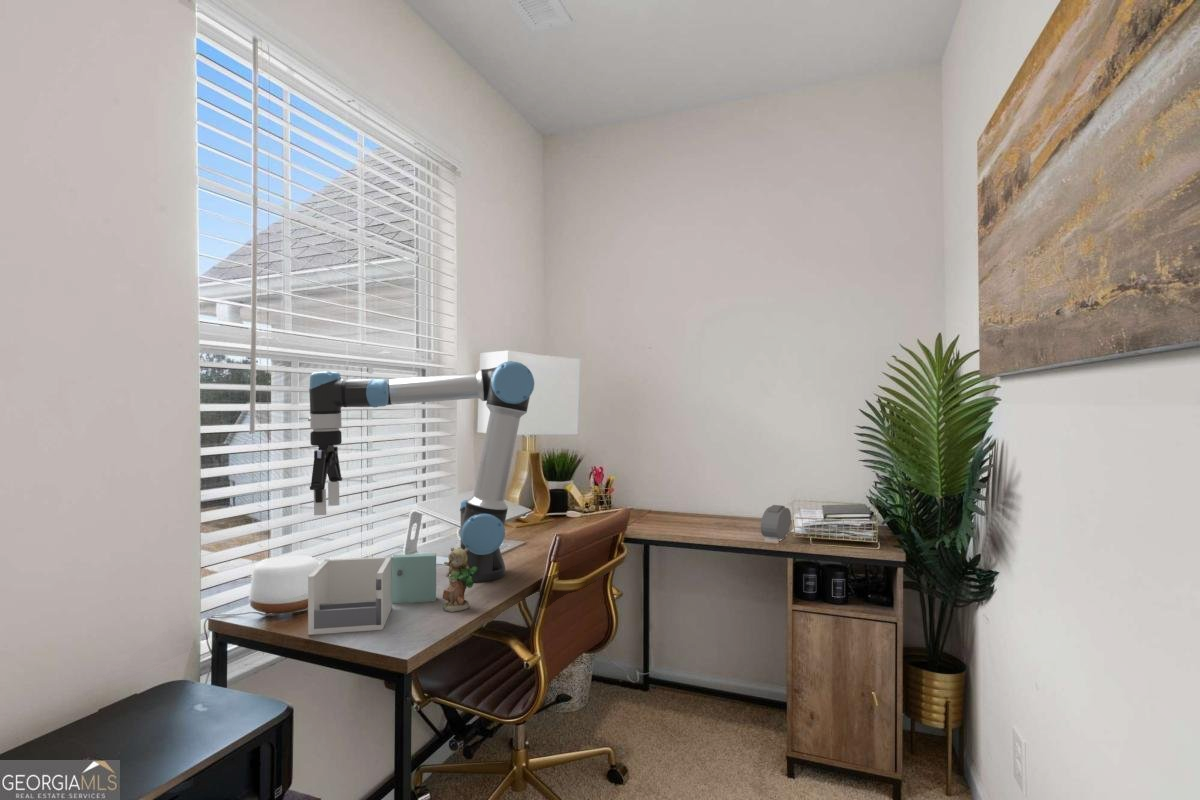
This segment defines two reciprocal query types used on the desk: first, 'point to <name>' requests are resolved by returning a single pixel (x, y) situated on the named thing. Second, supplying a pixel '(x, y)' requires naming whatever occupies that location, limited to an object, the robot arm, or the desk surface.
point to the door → (413, 578)
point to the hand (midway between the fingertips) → (327, 510)
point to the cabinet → (349, 595)
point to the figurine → (458, 580)
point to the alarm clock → (775, 523)
